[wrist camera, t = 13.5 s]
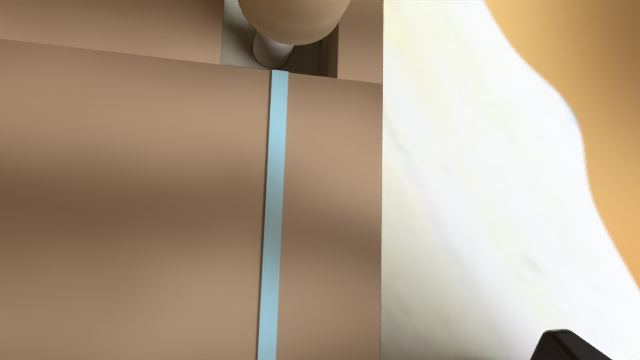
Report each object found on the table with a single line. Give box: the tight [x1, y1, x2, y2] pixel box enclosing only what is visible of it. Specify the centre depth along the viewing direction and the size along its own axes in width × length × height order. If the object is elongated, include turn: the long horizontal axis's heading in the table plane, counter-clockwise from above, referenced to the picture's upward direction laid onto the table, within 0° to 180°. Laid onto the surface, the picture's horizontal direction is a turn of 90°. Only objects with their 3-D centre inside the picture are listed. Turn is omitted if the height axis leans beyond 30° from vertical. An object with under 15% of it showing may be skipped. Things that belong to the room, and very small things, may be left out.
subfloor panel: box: [0, 0, 383, 360], centre depth 21 cm, size 18×20×3 cm
